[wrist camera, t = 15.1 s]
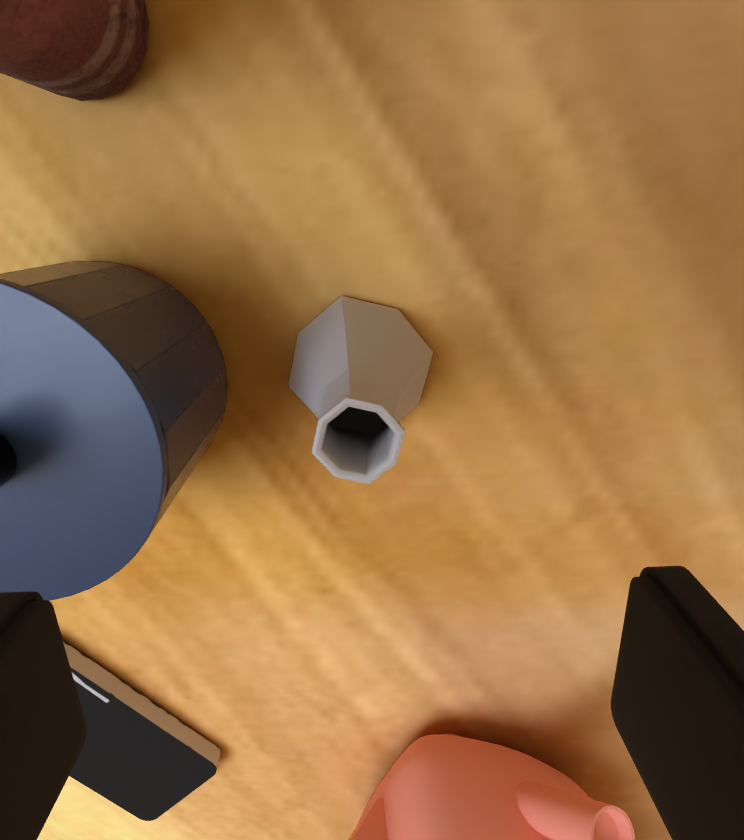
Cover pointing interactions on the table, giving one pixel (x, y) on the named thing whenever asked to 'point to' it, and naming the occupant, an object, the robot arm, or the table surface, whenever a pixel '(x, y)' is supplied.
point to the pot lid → (71, 451)
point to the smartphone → (135, 745)
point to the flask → (359, 384)
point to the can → (73, 44)
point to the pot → (149, 348)
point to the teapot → (482, 798)
